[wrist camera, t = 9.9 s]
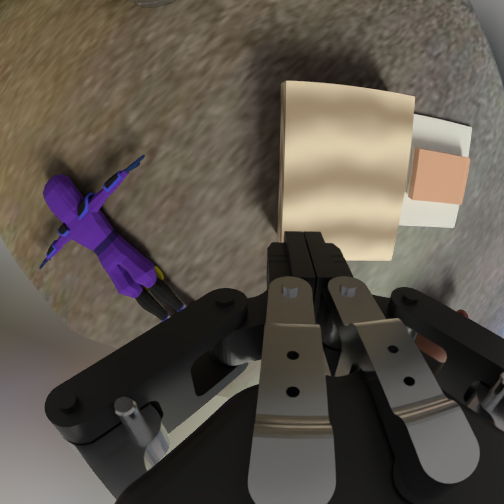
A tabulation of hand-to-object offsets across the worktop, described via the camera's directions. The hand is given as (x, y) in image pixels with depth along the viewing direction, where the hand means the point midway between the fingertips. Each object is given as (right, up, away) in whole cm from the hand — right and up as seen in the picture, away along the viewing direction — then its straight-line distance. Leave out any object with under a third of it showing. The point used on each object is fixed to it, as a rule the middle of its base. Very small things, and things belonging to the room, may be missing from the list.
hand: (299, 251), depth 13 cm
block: (+8, +11, +25) cm, 28 cm away
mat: (+23, +11, +24) cm, 36 cm away
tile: (+24, +10, +22) cm, 34 cm away
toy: (-21, +1, +31) cm, 38 cm away
